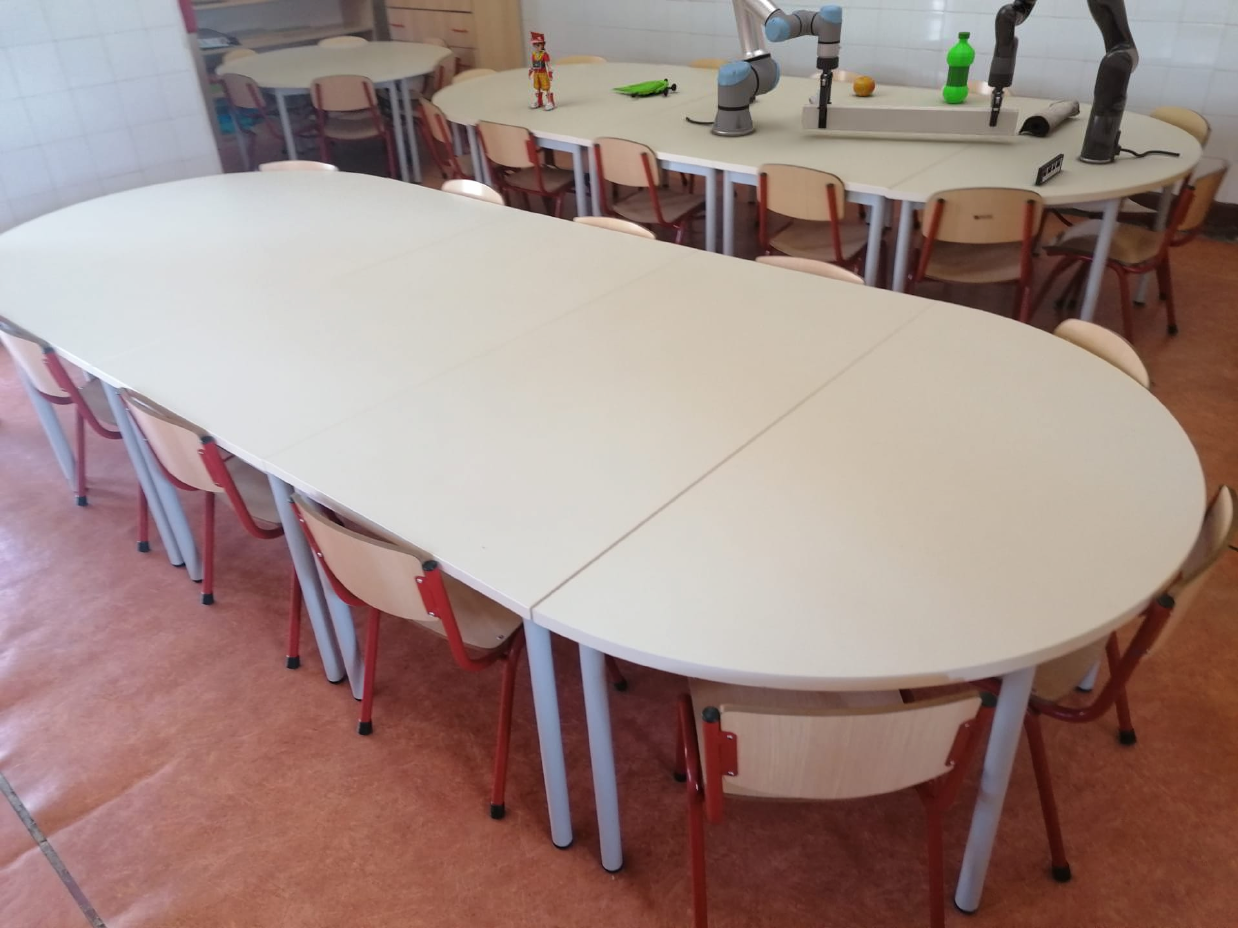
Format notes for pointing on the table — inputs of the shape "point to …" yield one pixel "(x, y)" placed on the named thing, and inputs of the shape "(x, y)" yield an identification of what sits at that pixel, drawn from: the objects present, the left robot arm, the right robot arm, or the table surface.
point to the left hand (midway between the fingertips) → (823, 126)
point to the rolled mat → (1050, 117)
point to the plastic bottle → (958, 69)
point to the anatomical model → (815, 98)
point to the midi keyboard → (1049, 169)
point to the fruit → (864, 86)
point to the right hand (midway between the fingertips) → (992, 124)
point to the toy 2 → (648, 88)
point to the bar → (911, 119)
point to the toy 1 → (541, 71)
